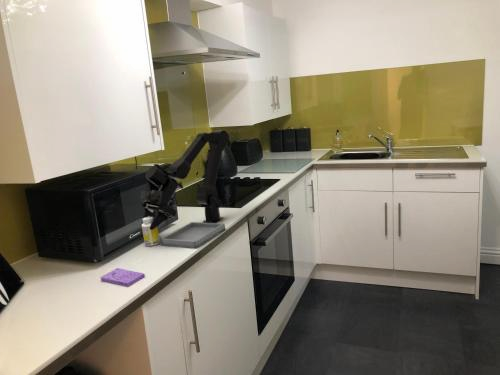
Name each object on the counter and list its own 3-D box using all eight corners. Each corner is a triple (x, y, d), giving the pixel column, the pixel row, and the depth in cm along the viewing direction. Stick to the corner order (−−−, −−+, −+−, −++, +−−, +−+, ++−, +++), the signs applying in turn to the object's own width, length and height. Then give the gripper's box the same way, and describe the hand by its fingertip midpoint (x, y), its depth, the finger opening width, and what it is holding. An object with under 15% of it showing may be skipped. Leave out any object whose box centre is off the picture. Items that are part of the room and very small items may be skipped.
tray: (192, 227, 170) (191, 222, 170) (225, 229, 163) (224, 223, 162) (161, 245, 153) (160, 239, 153) (196, 248, 145) (195, 241, 145)
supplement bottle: (160, 240, 159) (156, 215, 157) (159, 245, 154) (154, 219, 152) (146, 242, 159) (141, 217, 157) (144, 247, 153) (139, 221, 151)
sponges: (118, 272, 133) (117, 267, 133) (146, 278, 127) (145, 272, 126) (100, 282, 128) (99, 276, 127) (128, 288, 121) (127, 282, 121)
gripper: (138, 180, 161) (117, 215, 155) (165, 183, 147) (143, 221, 142) (158, 194, 168) (139, 228, 162) (186, 198, 154) (166, 235, 149)
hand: (146, 228), depth 154 cm, fingers closed on supplement bottle, 5 cm apart
